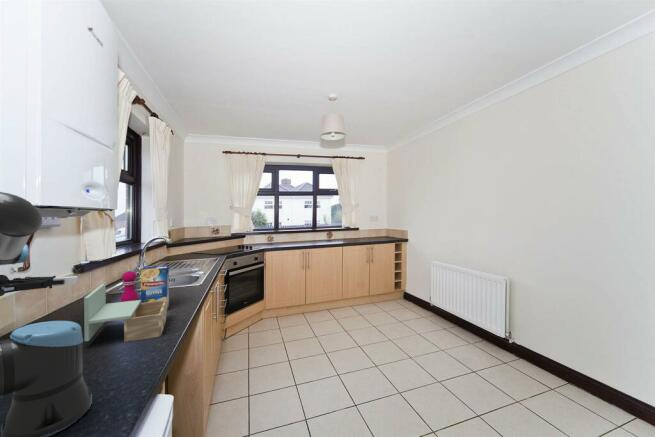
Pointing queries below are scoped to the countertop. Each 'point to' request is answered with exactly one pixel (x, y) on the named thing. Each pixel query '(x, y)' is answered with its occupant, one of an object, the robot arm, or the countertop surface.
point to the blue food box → (155, 284)
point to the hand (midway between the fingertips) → (76, 280)
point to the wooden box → (146, 321)
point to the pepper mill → (129, 287)
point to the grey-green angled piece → (104, 310)
